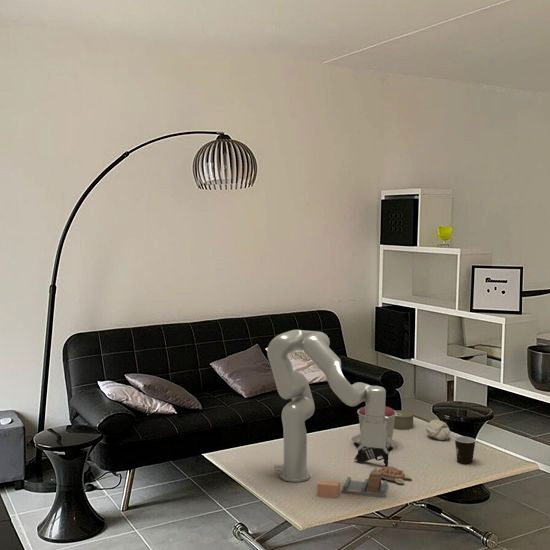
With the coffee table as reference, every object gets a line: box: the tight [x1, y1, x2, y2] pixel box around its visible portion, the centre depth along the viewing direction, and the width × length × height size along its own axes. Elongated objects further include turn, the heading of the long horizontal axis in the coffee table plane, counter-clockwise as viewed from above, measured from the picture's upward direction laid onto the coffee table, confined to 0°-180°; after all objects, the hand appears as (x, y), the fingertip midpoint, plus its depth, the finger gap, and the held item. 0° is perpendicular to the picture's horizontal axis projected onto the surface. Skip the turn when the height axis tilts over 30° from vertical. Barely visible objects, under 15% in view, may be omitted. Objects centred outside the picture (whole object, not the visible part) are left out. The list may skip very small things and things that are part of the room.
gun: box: [353, 447, 389, 467], centre depth 308 cm, size 3×16×10 cm, turn 59°
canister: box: [356, 405, 397, 448], centre depth 331 cm, size 18×18×21 cm
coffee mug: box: [454, 436, 476, 466], centre depth 311 cm, size 12×9×10 cm
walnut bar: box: [367, 470, 382, 492], centre depth 279 cm, size 8×4×5 cm, turn 164°
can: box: [393, 409, 415, 431], centre depth 362 cm, size 12×12×7 cm
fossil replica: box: [425, 419, 451, 441], centre depth 343 cm, size 12×8×10 cm
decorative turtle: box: [372, 465, 413, 484], centre depth 292 cm, size 18×17×5 cm
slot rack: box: [340, 476, 390, 498], centre depth 280 cm, size 17×11×3 cm, turn 74°
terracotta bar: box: [316, 479, 341, 499], centre depth 275 cm, size 8×4×5 cm, turn 74°
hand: (372, 460), depth 278 cm, fingers open, 9 cm apart
